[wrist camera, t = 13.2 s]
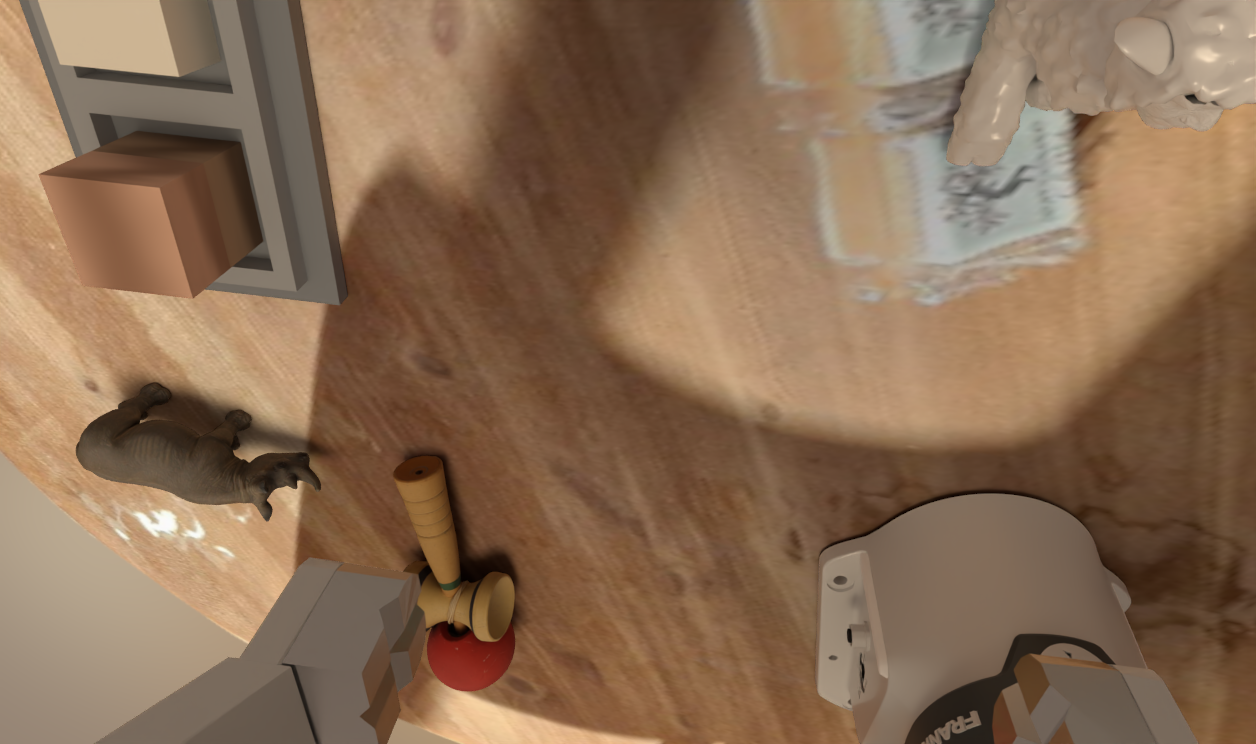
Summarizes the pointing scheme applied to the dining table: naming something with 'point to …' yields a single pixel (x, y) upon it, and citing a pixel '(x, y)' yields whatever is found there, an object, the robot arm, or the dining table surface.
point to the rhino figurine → (186, 456)
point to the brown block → (155, 212)
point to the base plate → (208, 112)
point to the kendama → (454, 588)
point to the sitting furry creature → (1105, 66)
